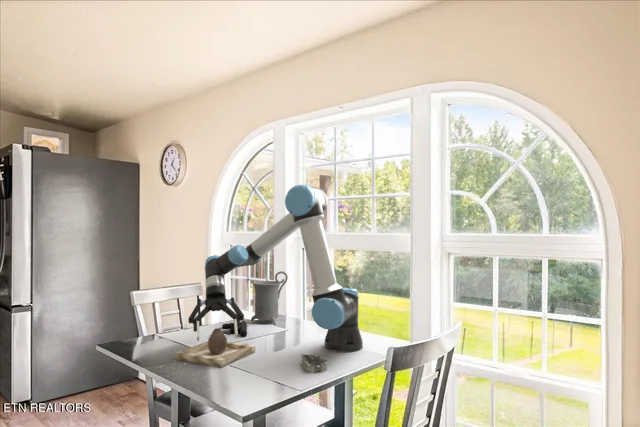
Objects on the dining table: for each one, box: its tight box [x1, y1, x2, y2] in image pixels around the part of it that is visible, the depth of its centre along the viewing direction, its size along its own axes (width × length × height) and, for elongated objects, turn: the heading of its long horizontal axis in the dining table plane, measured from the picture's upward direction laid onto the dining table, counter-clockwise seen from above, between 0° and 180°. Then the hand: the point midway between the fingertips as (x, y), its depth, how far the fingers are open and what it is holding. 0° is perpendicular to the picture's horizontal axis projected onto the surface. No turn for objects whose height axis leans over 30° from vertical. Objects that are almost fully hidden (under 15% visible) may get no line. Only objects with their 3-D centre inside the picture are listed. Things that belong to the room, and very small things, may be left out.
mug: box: [250, 271, 289, 326], centre depth 217 cm, size 19×15×25 cm
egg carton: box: [300, 353, 328, 373], centre depth 148 cm, size 11×8×4 cm
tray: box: [175, 340, 256, 369], centre depth 160 cm, size 20×20×2 cm
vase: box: [207, 327, 228, 355], centre depth 161 cm, size 7×7×9 cm
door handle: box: [211, 320, 248, 338], centre depth 196 cm, size 3×20×16 cm
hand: (217, 337), depth 158 cm, fingers open, 13 cm apart
